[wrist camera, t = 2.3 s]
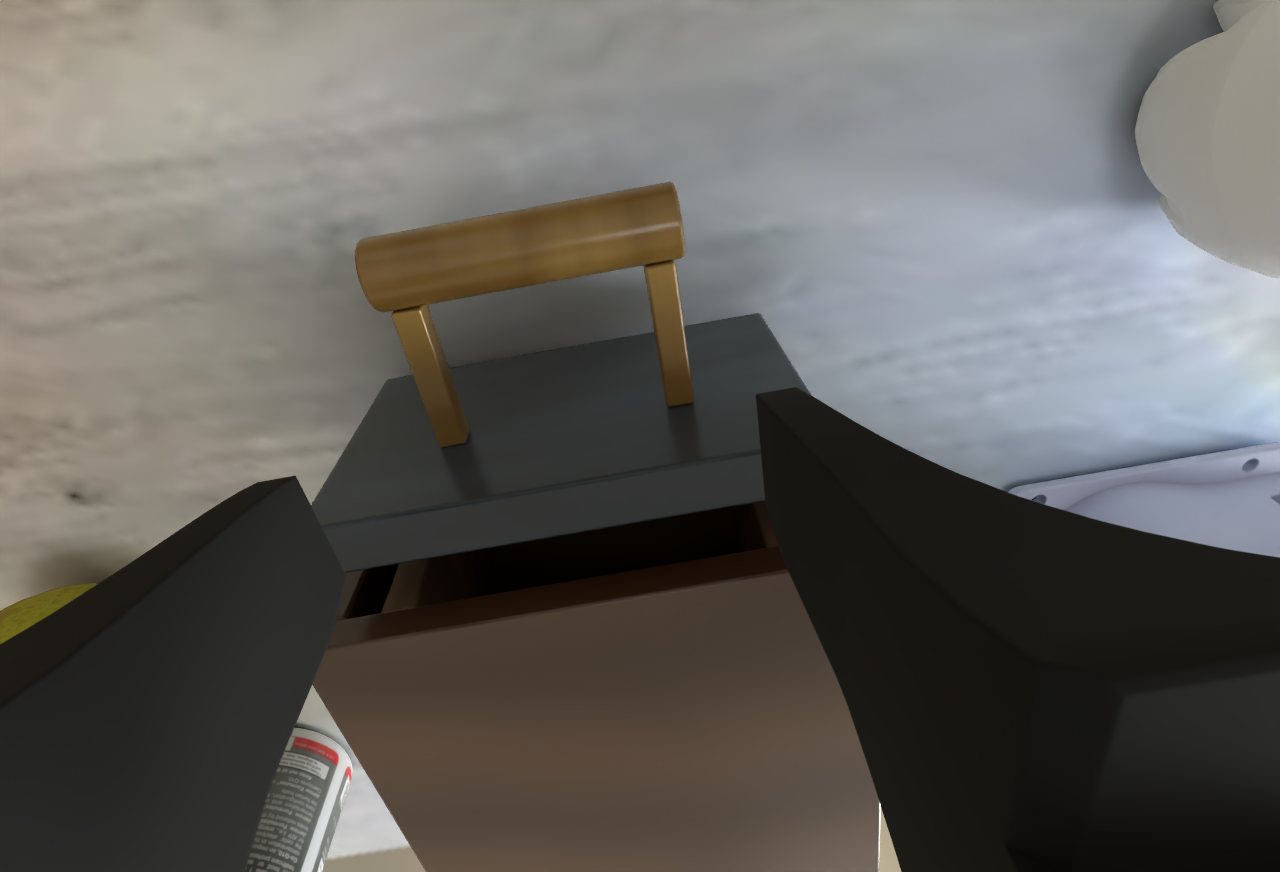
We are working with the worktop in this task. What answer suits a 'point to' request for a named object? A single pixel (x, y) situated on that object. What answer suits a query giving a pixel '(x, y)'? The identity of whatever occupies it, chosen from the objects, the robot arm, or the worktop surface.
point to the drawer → (551, 417)
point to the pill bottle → (302, 806)
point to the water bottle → (1221, 137)
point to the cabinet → (607, 724)
